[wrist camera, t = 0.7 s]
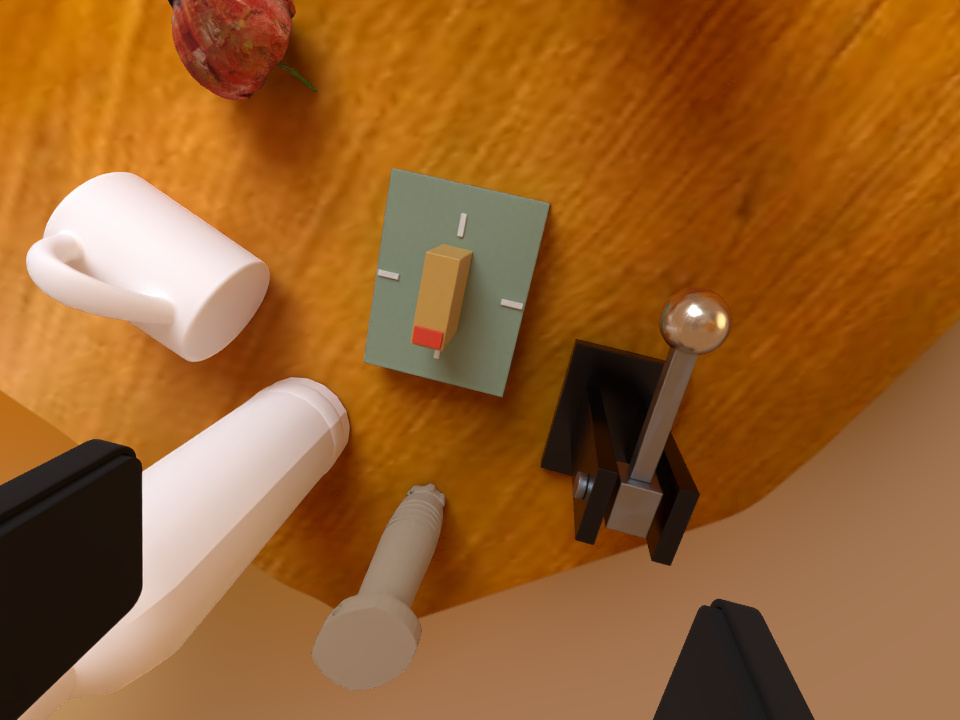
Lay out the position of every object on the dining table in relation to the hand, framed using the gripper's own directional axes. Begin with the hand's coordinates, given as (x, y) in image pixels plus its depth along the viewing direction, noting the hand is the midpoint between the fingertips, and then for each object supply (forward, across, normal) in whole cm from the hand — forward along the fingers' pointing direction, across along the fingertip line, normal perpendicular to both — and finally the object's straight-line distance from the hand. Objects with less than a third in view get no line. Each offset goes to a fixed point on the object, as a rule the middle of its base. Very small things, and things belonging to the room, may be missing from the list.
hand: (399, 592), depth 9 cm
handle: (+30, +4, +18) cm, 35 cm away
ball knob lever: (+20, -9, +2) cm, 22 cm away
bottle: (+30, +14, +14) cm, 36 cm away
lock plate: (+30, +4, 0) cm, 30 cm away
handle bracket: (+30, -9, +7) cm, 32 cm away
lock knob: (+26, +4, 0) cm, 27 cm away
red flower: (+30, +19, -12) cm, 37 cm away
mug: (+30, +23, +3) cm, 38 cm away
